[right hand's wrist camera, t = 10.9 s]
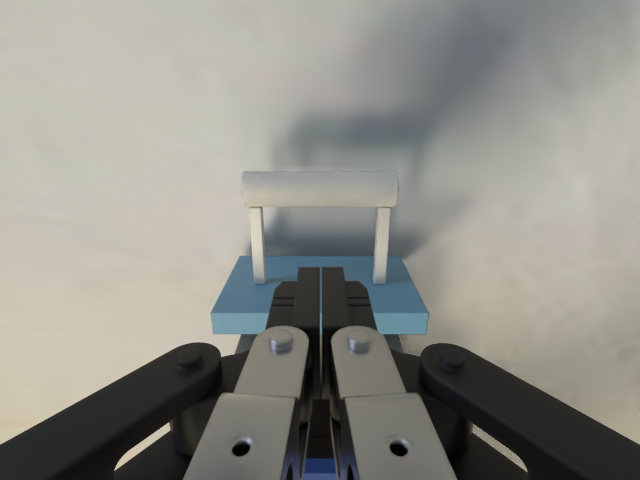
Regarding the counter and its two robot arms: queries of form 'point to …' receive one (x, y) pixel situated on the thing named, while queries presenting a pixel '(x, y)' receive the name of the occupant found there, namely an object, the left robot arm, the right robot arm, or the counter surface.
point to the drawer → (269, 271)
